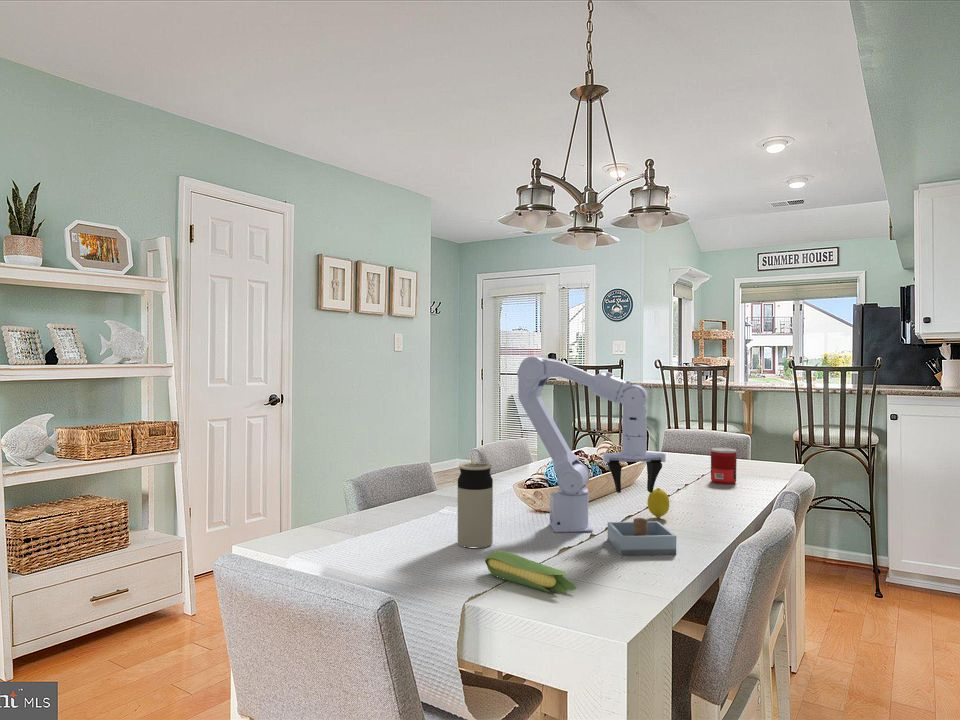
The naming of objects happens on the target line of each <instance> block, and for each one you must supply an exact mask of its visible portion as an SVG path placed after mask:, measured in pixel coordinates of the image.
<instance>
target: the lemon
mask: <svg viewBox="0 0 960 720" xmlns="http://www.w3.org/2000/svg"><path fill="white" fill-rule="evenodd" d="M669 498H670V497H669V495H668V494H667V492H666V491H665V490H663V489H661V488H660V487H657V488H656V489H653V493H650V492H649V494H648V497H647V508H648V511H649V512H650V513H651V515H653V516H655V517H656V519H661V517H664V516H665V515H666V514H668V512H669V509H670V499H669Z"/></svg>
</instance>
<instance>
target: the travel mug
mask: <svg viewBox="0 0 960 720" xmlns="http://www.w3.org/2000/svg"><path fill="white" fill-rule="evenodd" d="M492 467H493V466H492V464H491V463H487V462H475V461H474V462H464V463H460V464H459V465H458V468H459V470H460V471H459V472H460V474H459V476H458V478H457V544H458V545H459V546H461V547H463V546H465V547H464V548H466V547H484V548H487V547H486V546H488V547H489V546H491V545H492V544H493V542H494V541H493V537H494V536H493V534H494V533H493V531H494V530H493V528H494V527H493V526H494V524H493V523H494V522H493V521H494V520H493V516H494V513H493V511H494V510H493V507H494V506H493V504H494V502H493V501H494V500H493V499H494V497H493V496H494V495H493V493H494V491H493V490H494V489H493V487H494V485H493V484H494V483H493V481H494V479H493V477H492V475H491V468H492Z"/></svg>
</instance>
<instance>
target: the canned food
mask: <svg viewBox="0 0 960 720" xmlns="http://www.w3.org/2000/svg"><path fill="white" fill-rule="evenodd" d="M710 480H711V482H712V483H713V484H718V485H735V484H736V482H737V449H735V448H730V447H729V448H728V447H713V448H711V450H710Z"/></svg>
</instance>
